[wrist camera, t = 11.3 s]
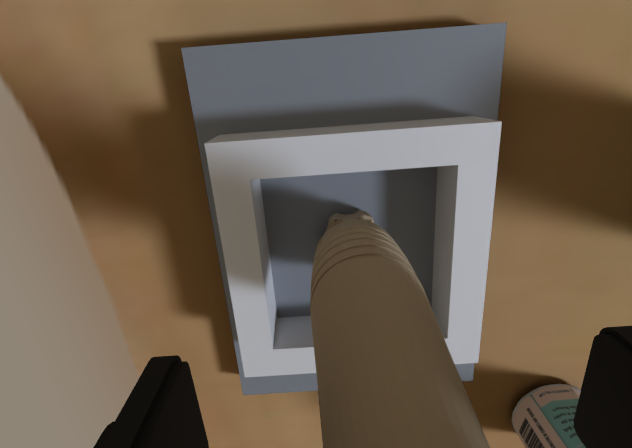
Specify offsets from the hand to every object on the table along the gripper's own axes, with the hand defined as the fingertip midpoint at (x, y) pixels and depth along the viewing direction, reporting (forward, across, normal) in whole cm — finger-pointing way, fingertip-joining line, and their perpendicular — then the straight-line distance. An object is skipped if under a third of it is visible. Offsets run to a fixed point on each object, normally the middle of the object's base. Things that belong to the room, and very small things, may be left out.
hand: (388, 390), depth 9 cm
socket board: (+11, 0, +1) cm, 11 cm away
